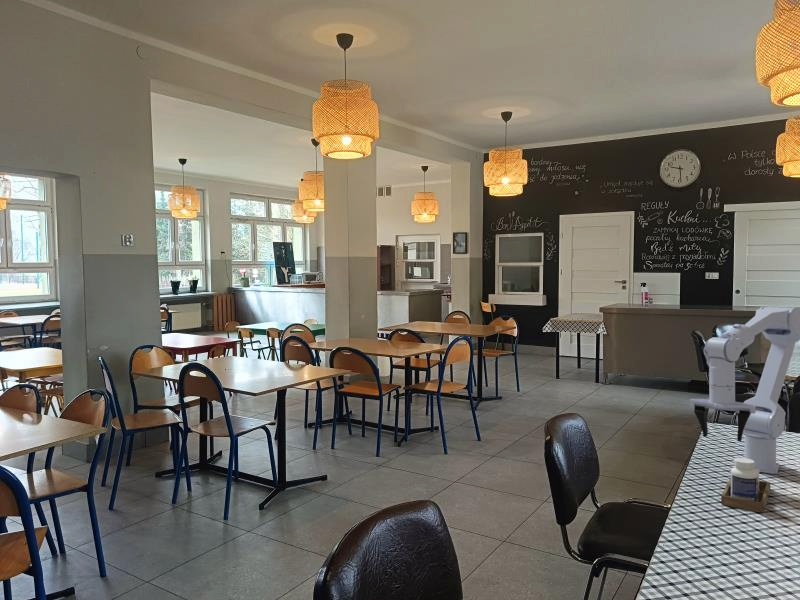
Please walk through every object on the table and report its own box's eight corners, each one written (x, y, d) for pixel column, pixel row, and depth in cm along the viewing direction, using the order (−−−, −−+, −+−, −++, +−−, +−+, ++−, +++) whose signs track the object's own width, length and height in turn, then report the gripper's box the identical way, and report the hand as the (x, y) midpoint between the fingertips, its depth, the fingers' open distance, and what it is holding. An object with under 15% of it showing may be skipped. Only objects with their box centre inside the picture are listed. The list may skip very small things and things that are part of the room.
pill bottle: (762, 507, 130) (762, 464, 129) (735, 506, 131) (735, 463, 130) (752, 498, 135) (752, 457, 135) (727, 497, 136) (727, 456, 136)
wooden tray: (731, 483, 145) (731, 475, 145) (770, 490, 140) (770, 482, 140) (721, 504, 132) (721, 495, 132) (763, 512, 127) (763, 503, 127)
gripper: (687, 384, 149) (687, 437, 149) (753, 390, 140) (753, 446, 141) (692, 380, 155) (693, 431, 155) (756, 385, 146) (756, 439, 146)
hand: (722, 438), depth 148 cm, fingers open, 7 cm apart
